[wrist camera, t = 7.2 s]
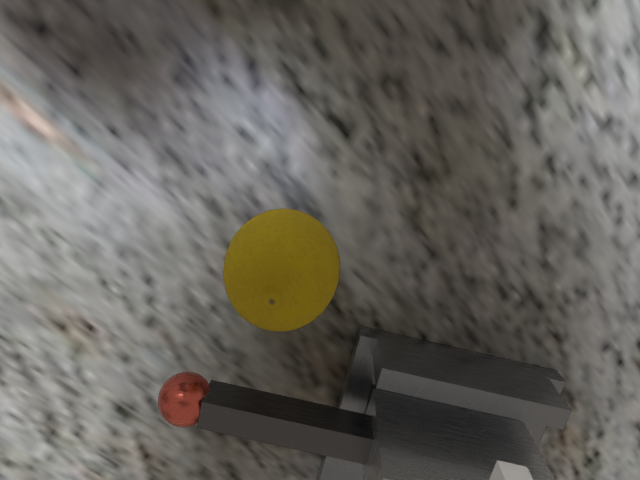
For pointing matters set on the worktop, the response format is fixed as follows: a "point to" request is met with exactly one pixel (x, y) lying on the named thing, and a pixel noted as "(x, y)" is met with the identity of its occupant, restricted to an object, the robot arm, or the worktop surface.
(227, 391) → the free jaw
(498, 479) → the robot arm
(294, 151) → the worktop surface
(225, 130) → the worktop surface
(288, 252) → the lemon
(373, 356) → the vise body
